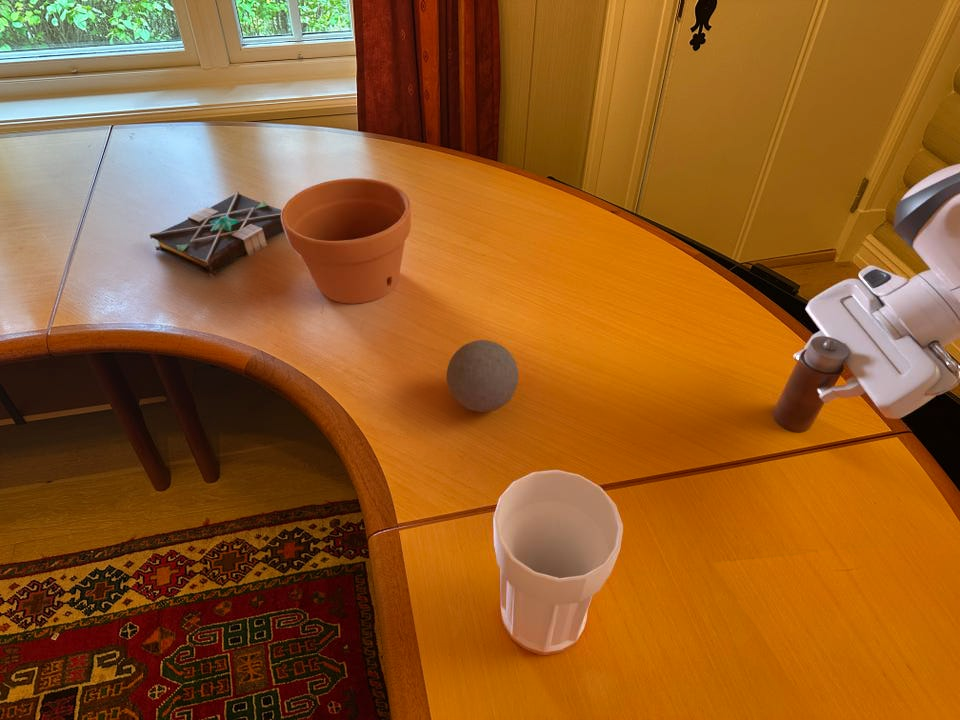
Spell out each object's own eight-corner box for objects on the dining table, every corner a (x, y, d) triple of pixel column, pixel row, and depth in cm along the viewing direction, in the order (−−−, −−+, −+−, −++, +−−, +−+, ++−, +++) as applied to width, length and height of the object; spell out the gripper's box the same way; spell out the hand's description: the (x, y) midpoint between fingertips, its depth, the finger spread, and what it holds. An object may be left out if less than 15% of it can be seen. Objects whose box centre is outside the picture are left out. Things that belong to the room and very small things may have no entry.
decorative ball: (509, 373, 92) (511, 322, 85) (523, 422, 84) (527, 370, 78) (443, 380, 90) (440, 329, 84) (452, 431, 83) (450, 379, 76)
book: (212, 279, 109) (203, 255, 106) (153, 251, 116) (144, 228, 113) (299, 227, 123) (294, 205, 120) (242, 205, 130) (236, 183, 126)
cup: (569, 550, 70) (588, 456, 58) (615, 645, 62) (648, 558, 50) (476, 579, 67) (476, 486, 56) (512, 682, 59) (521, 600, 48)
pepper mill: (819, 430, 83) (864, 353, 74) (783, 433, 83) (823, 356, 73) (800, 403, 87) (841, 326, 78) (765, 406, 87) (802, 329, 77)
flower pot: (363, 333, 99) (350, 255, 89) (273, 291, 107) (251, 216, 97) (439, 271, 112) (435, 197, 102) (353, 238, 120) (342, 167, 110)
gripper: (979, 391, 68) (858, 450, 74) (880, 284, 83) (785, 341, 89) (963, 363, 64) (837, 428, 71) (862, 257, 79) (766, 318, 86)
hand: (808, 378), depth 80 cm, fingers closed on pepper mill, 5 cm apart
